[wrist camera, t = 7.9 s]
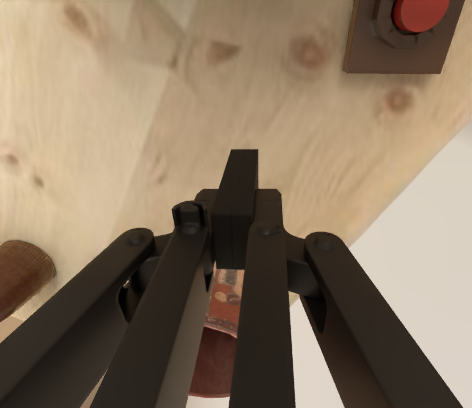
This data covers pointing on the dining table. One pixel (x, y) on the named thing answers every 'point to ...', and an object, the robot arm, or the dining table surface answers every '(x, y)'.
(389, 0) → the switch box
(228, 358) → the pottery
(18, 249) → the lamp
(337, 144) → the dining table surface
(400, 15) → the lamp switch
